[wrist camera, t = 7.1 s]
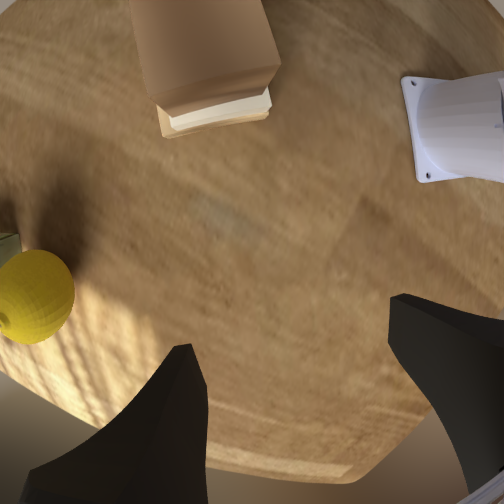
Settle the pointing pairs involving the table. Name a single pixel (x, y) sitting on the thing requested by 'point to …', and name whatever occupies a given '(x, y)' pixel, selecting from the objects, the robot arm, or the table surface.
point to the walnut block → (203, 51)
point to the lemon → (34, 296)
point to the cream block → (223, 111)
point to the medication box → (9, 246)
